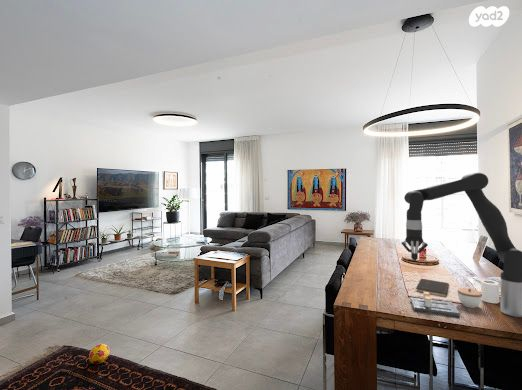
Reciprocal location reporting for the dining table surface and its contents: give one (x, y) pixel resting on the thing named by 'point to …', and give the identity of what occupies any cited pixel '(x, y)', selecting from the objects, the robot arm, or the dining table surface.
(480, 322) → the dining table surface
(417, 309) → the console
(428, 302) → the fader
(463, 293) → the lidded jar
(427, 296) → the fader
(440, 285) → the hardcover book
